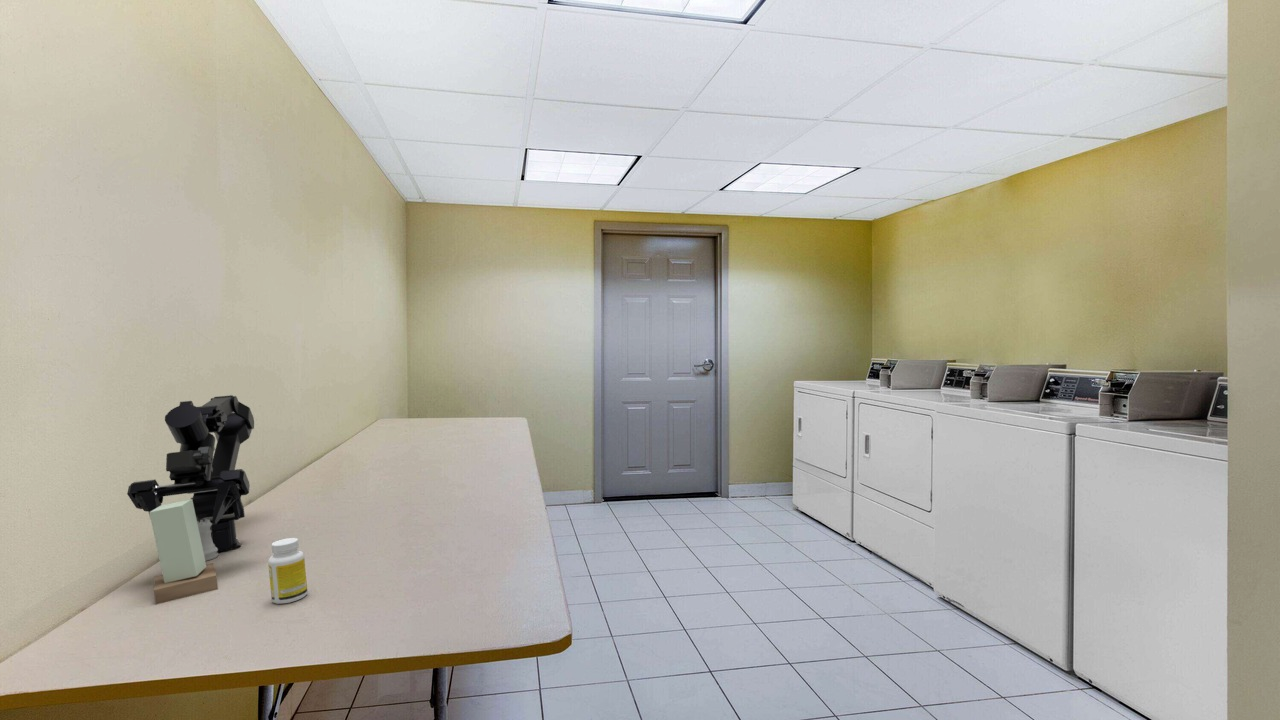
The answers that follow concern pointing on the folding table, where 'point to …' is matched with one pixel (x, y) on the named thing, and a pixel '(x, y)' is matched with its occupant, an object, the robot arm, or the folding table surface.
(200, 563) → the sage post
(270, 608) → the folding table surface
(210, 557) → the rook chess piece
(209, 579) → the walnut block
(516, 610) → the folding table surface
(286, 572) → the supplement bottle
